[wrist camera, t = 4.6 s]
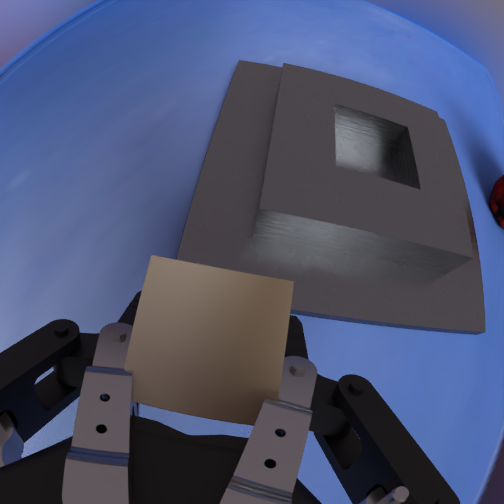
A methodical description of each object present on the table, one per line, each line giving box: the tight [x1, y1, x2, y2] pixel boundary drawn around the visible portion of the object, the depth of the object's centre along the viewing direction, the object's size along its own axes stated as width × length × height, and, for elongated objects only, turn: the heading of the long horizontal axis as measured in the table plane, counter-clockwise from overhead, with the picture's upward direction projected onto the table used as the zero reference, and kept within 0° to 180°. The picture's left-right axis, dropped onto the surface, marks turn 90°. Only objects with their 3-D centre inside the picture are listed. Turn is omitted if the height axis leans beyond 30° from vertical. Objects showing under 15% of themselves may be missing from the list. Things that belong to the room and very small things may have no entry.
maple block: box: [124, 255, 294, 426], centre depth 12 cm, size 4×4×10 cm
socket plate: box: [176, 60, 485, 335], centre depth 21 cm, size 22×22×4 cm
